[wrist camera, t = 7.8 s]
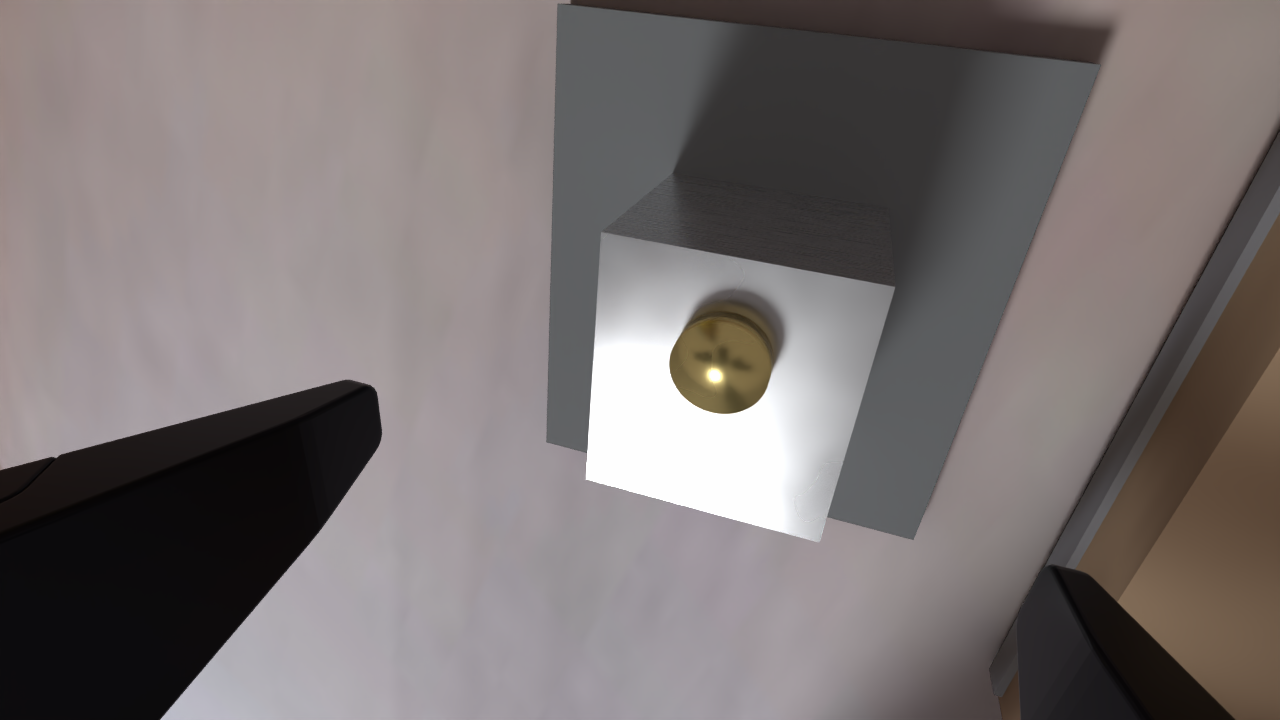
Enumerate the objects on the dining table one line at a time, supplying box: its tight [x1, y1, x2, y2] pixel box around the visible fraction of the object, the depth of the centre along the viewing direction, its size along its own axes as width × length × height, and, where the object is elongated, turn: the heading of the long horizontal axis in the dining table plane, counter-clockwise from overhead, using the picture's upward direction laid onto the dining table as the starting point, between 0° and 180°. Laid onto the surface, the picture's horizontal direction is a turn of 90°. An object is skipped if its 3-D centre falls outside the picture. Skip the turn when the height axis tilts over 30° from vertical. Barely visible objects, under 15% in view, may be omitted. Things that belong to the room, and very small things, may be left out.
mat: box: [546, 4, 1101, 540], centre depth 15 cm, size 11×10×1 cm
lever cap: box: [586, 173, 895, 542], centre depth 13 cm, size 5×4×5 cm
